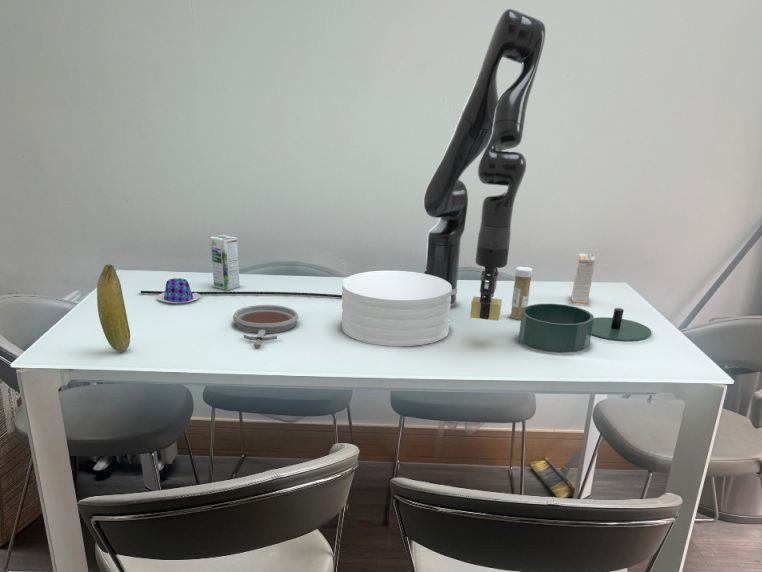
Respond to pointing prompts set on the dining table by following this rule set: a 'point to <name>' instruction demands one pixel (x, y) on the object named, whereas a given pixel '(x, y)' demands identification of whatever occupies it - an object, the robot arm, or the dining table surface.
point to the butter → (494, 308)
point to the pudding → (178, 292)
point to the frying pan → (265, 321)
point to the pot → (555, 327)
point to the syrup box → (225, 262)
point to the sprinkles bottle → (520, 291)
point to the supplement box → (583, 278)
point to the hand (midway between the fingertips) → (485, 315)
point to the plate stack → (396, 307)
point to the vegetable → (112, 309)
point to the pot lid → (619, 328)
